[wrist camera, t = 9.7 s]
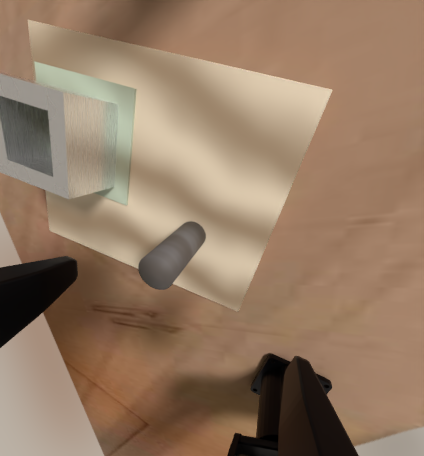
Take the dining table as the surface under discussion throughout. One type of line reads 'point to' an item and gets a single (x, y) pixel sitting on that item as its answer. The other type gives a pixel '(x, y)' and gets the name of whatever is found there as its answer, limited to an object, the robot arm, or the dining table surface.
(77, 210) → the board
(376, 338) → the dining table surface
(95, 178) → the collar
